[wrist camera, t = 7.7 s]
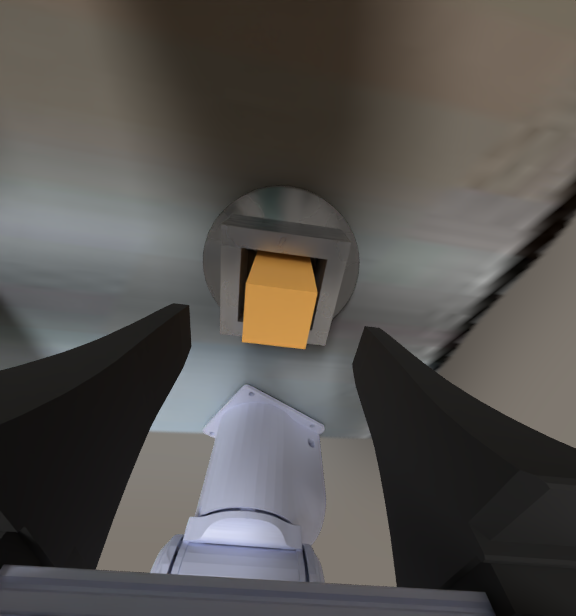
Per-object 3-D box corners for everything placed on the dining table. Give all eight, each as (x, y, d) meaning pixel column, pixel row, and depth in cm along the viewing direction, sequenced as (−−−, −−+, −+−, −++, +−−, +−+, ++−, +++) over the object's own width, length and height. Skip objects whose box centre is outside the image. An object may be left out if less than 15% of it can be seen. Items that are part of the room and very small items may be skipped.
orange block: (308, 250, 16) (317, 292, 11) (300, 293, 18) (305, 349, 12) (260, 243, 16) (245, 283, 11) (256, 287, 17) (241, 341, 12)
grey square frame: (373, 198, 16) (399, 210, 12) (336, 333, 21) (346, 370, 17) (206, 173, 15) (180, 177, 12) (209, 318, 20) (190, 353, 16)
